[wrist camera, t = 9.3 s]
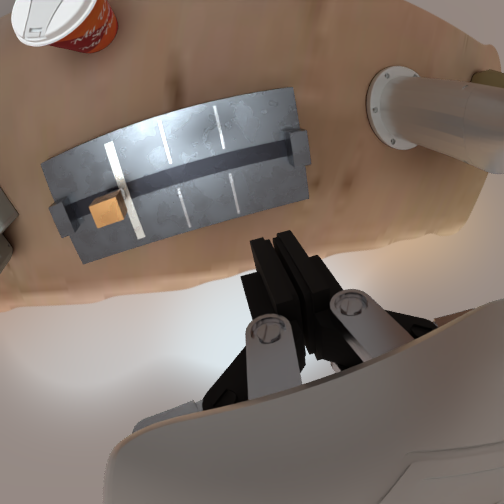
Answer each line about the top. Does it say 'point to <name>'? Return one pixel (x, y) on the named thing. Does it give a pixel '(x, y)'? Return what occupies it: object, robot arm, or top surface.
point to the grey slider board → (182, 171)
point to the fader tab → (109, 208)
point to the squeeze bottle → (489, 78)
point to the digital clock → (3, 215)
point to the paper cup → (65, 23)
